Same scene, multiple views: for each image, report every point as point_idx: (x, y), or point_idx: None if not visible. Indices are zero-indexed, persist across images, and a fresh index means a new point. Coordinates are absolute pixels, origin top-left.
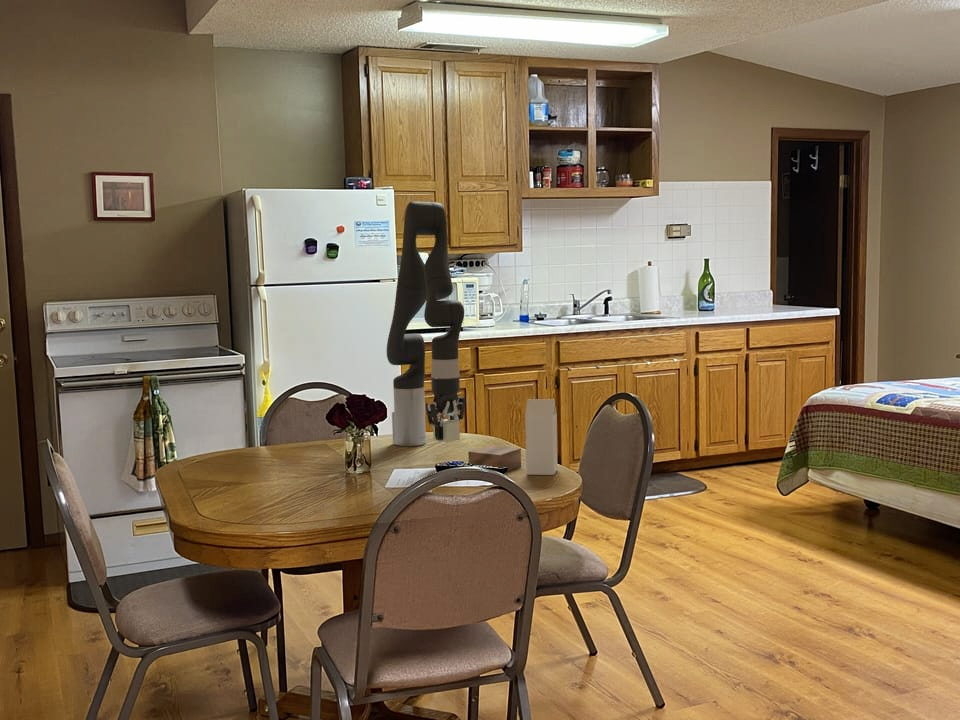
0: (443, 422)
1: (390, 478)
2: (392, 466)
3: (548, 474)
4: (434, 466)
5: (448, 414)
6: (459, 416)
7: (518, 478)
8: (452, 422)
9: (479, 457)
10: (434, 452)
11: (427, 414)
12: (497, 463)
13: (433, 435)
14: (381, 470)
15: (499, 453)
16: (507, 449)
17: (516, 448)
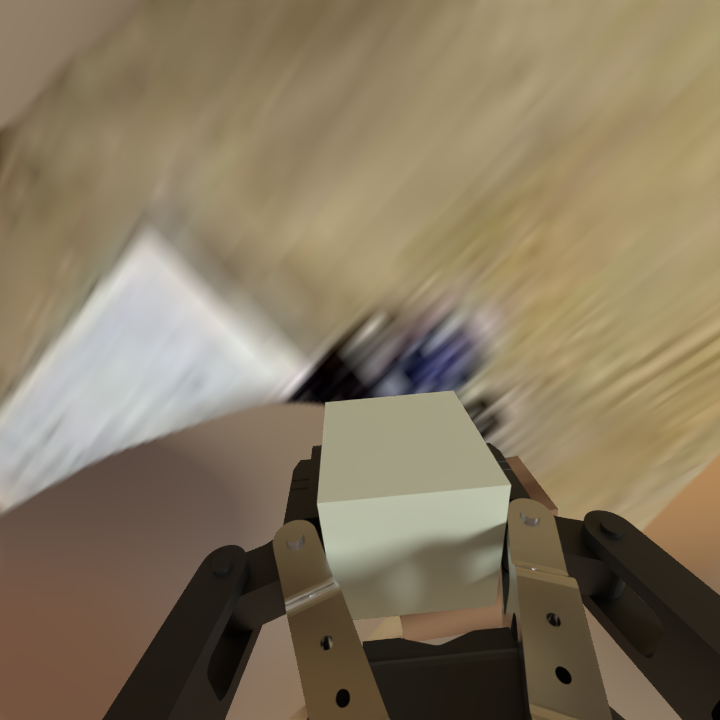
0: (365, 571)
1: (28, 385)
2: (169, 170)
3: None
4: (325, 348)
5: (511, 585)
6: (583, 590)
7: (370, 638)
8: (414, 609)
9: None
10: (617, 40)
11: (131, 682)
12: None
13: (324, 422)
14: (65, 207)
15: (427, 628)
16: None
17: None
